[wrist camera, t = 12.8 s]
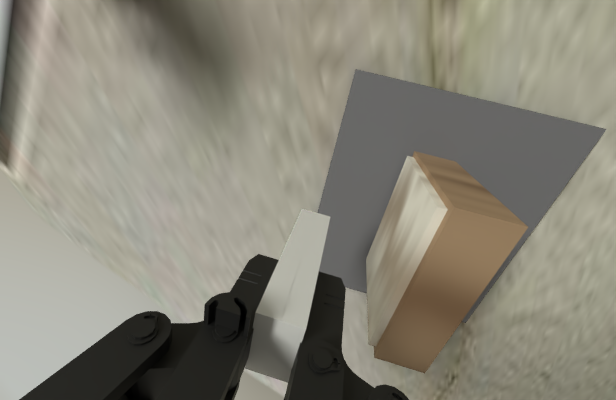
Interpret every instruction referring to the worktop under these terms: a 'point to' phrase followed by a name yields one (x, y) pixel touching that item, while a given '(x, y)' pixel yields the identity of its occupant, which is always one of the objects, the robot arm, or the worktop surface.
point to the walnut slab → (432, 258)
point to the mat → (444, 144)
